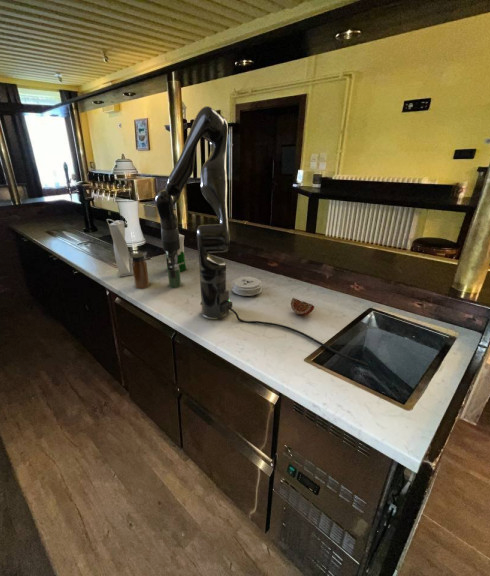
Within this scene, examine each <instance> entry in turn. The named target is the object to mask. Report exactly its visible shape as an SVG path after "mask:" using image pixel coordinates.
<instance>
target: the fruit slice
mask: <svg viewBox="0 0 490 576" xmlns="http://www.w3.org/2000/svg"><path fill="white" fill-rule="evenodd" d="M290 307H291V309H292V311H293V312H294V313H296V314H297V315H299V316H307V315H309V314H310V313H312V312H313V311H314V310H315V306H314V305H313V304H312V303H309V302H306V301H304V300H300V299H297V298H295V297H292V299H291V300H290Z"/></svg>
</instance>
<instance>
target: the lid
mask: <svg viewBox="0 0 490 576" xmlns="http://www.w3.org/2000/svg"><path fill="white" fill-rule="evenodd" d="M231 286H232V287H231V291H232V292H233V293H234V294H236V295H239V296H245V297H247V296H248V297H250V296H251V297H252V296H255V295H259V294H261V293H262V291H263V282H262V281H261V280H260V279H259V278H257V277H253V276H241V277H238V278H236V279H234V280H233V281H232V282H231Z"/></svg>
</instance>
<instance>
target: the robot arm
mask: <svg viewBox="0 0 490 576" xmlns="http://www.w3.org/2000/svg"><path fill="white" fill-rule="evenodd" d="M228 135H229V124H228V121H227V119H226V118H225V116H223V115H222V114H221V113H219V112H217V111H216V110H215V109H214V108H213V107H210V106H203V107H202V108H200V110H199V111H198V112H197V114H196V115H195V118H194V120H193V122H192V125H191V127H190V130H189V132H188V135H187V137H186V140H185V142H184V145H183V148H182V151H181V153H180V155H179V158H178V159H177V161H176V163H175V165H174V167H173V169H172V170H171V172H170V174H169V176H168V179H167V183H166V185H165V187H164V189H163V190H160V191H158V192H157V194H156V196H155V205H156V210H157V213H158V216H159V221H160V222H159V223H160V235H161V245H162V250H163V251H164V252H166V251H167V252H168V254H167V259H166V258H165V260H166V267H167V266H168V270H167V272H168V271H170V278H175V277H176V276H175V265H176V264H178V263H177V262H178V253H177V251H178V250H179V249H180V239H179V234H180V232H179V225H178V216H177V214H175V210H174V206H175V204H176V203H177V202H178V200H179V198H180V196H181V194H182V192H183V189H184V188H185V186H186V185H187V183H188V182H189V181H190V178H191V177H192V175H193V172H194V170H195V163H196V162H195V161H196V151H197V147H198V144H199V142H200V140H201V138H204V139H205V140H207V141H208V142H209V146H210V152H209V156H208V158H207V159H206V160H205V162H204V163H203V165H202V166H201V169H200V175H199V176H200V178H199V179H200V191H201V193H202V196H203V197H204V199H205V200H206V202H207V203H208V204H209V205H210V206H211V208H212V209H213V211H214V213H215V215H216V217H217V219H218V224H217V223H214V224H200V225H198V226H197V228H196V243H197V251H198V252H197V253H198V264H199V265H198V266H199V267H198V268H199V283H200V285H199V286H200V300H201V301H200V306H201V316H202V317H203V318H205V319H207V320H213V321H214V320H218V321H221V320H223V319H224V318H225V317H227V315H229V314H230V312H232V313H233V314H234V315H235V317H236V319H237V321H239V322H240V323H245V324H261V325H267V326H268V325H269V326H275V327H279V328H283V329H286V330H289V331H292V332H295V333H297V334H299V335H302V336H303V337H306V338H307V339H309V340H311V341H313V342H314V343H316V344H318V345H320V346H322V347H323V348H325V349H327V350H328V351H330V352H332V353H334V354H335V355H338V356H340V357H342V358H343V359H344V358H345V359H347V360H349V361H352V362H354V363H357V364H360V365H362V366H365V367H369V363H368V362H364V361H361V360H359V359H356V358H353V357H351V356H348V355H346V354H343V353H341V352H339V351H337V350H335V349H333V348H332V347H330V346H329V345H327V344H324V343H323V342H321V341H319V340H317V339H316V338H314V337H312V336H311V335H308V334H306V333H305V332H302V331H300V330H297V329H296V328H293V327H289V326H288V325H287V326H286V325H283V324H279V323H275V322H268V321H261V320H243V319H241V318H240V317H239V314H238V313H237V312H236V311H235V310H234V309H233V301H231V300H230V291H229V290H228V289H227V264H226V261H224V260H222V259H220V258H218V257H215V256H213V255H211V254H212V253H226V252H228V251H229V249H230V246H231V234H230V224H229V223H230V222H229V212H228V211H229V210H228V171H227V170H228V169H227V148H228V147H227V146H228V145H227V144H228ZM210 253H211V254H210ZM170 266H172V268H170Z"/></svg>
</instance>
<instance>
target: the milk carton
mask: <svg viewBox="0 0 490 576" xmlns="http://www.w3.org/2000/svg"><path fill="white" fill-rule="evenodd" d="M179 239H180V249H179V250H178V251H177V253H178V262H177V263H178V265H179V268H180V273H181V272H183V271H186V270H187V265H186V259H185V244H184V242H185V241H184V240H185V235H183V234H181V233H179ZM167 254H168V252H167V251H165V260H166V259H167ZM167 269H168V266H167V265H166V270H167Z"/></svg>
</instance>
